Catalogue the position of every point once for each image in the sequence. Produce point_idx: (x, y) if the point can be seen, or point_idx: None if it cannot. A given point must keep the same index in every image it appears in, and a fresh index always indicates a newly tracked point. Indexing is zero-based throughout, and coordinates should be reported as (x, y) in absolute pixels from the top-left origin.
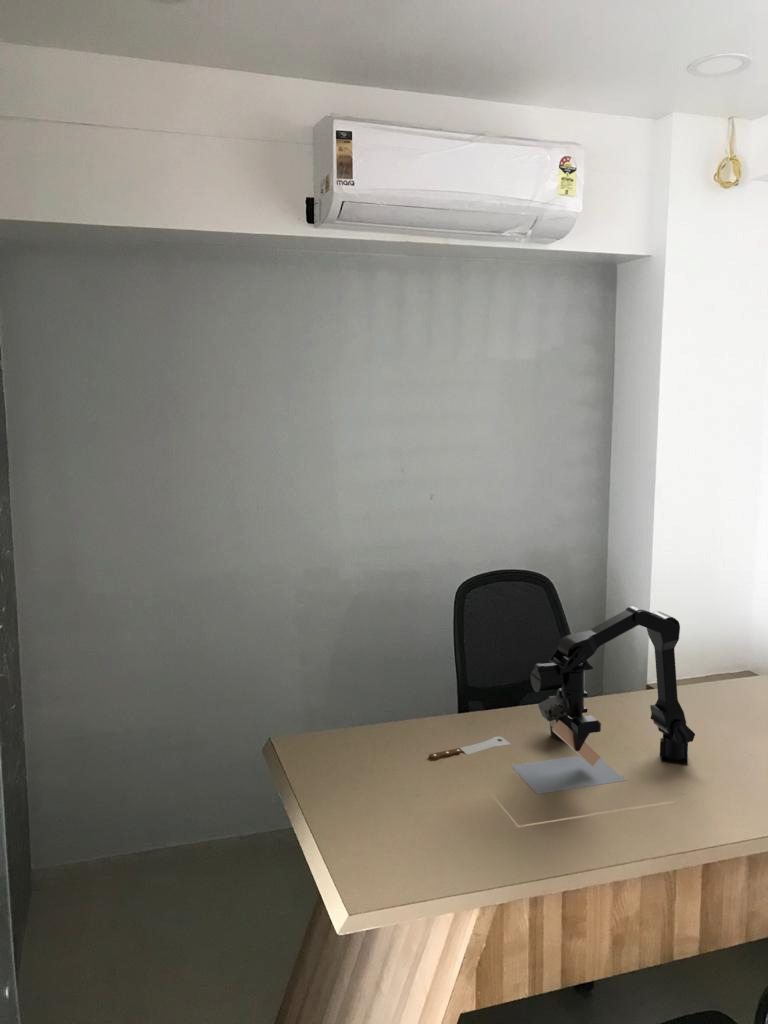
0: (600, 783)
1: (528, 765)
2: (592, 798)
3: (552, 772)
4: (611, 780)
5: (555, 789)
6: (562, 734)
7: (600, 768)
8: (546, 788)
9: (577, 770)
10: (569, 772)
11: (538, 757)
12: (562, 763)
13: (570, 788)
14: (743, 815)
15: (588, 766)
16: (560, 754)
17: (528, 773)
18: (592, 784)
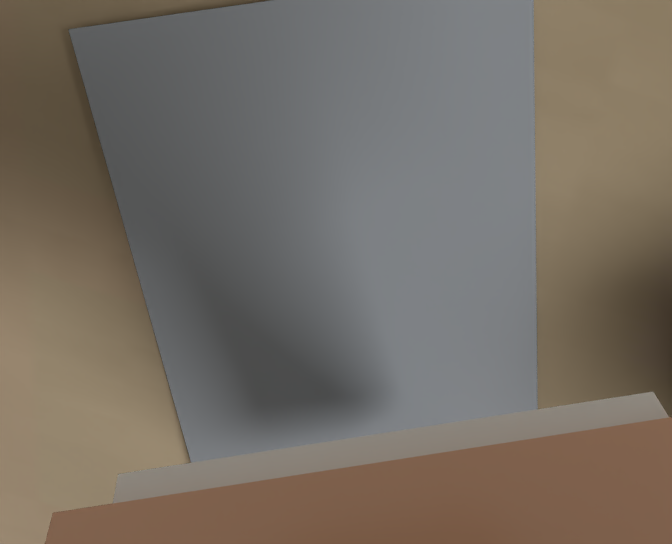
0: (198, 454)
1: (496, 106)
2: (47, 364)
3: (367, 237)
4: None
5: (132, 182)
6: None
7: None
8: (150, 125)
9: (366, 387)
10: (350, 337)
11: (599, 220)
12: (469, 333)
13: (143, 279)
14: None
15: None
16: (594, 358)
17: (380, 65)
18: (188, 412)
